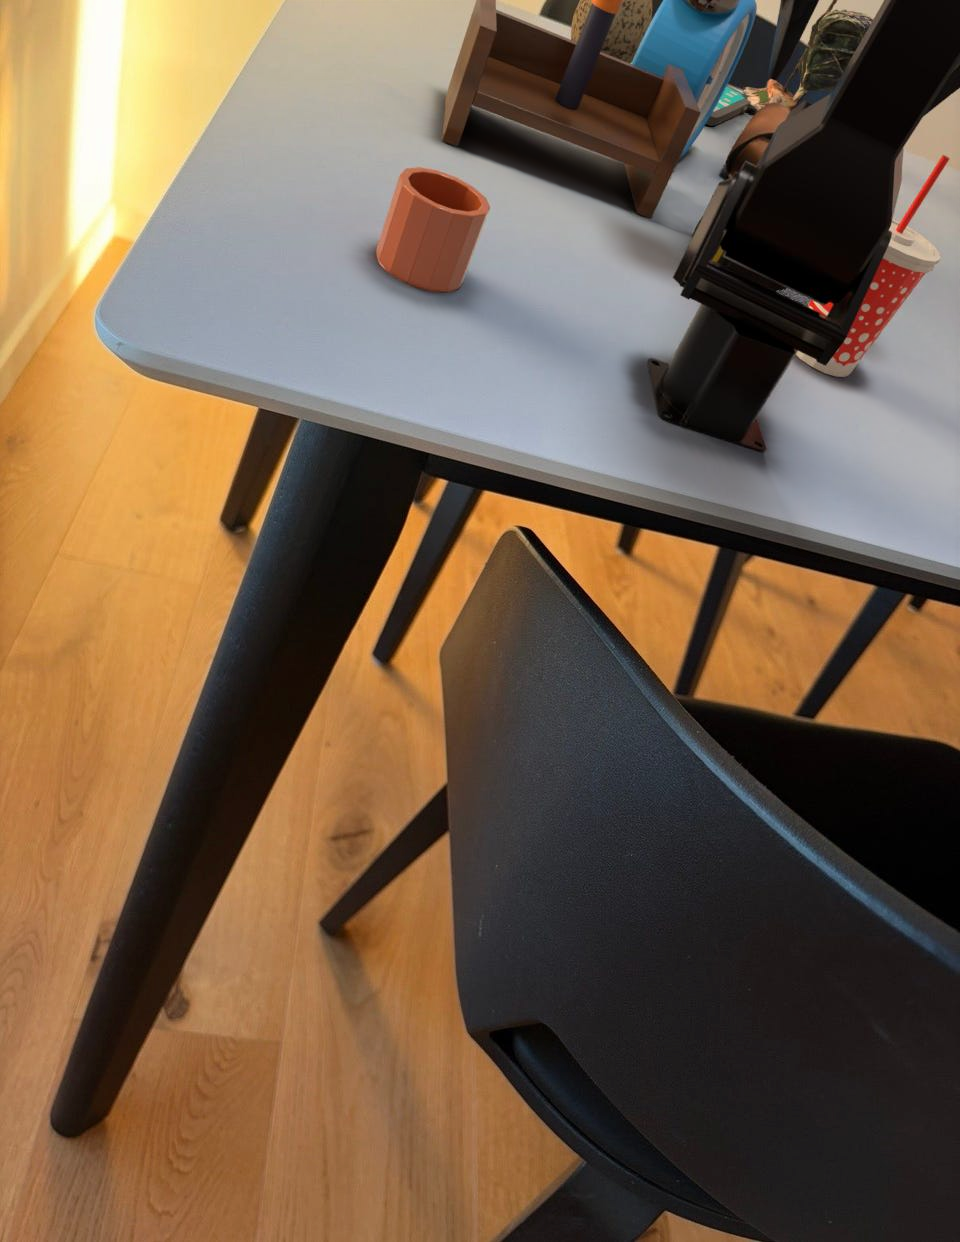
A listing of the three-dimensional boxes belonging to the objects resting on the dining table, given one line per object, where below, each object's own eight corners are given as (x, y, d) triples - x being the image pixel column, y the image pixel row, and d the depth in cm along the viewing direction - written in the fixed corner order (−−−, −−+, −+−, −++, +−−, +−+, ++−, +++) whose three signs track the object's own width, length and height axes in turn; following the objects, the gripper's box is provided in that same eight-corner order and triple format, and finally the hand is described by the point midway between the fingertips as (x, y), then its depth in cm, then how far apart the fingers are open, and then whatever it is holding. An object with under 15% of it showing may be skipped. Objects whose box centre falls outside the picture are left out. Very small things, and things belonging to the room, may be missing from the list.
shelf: (651, 218, 82) (701, 112, 77) (441, 141, 79) (480, 24, 74) (637, 168, 90) (682, 69, 85) (445, 95, 86) (480, -14, 81)
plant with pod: (824, 153, 115) (947, -51, 103) (730, 100, 116) (841, -109, 103) (831, 138, 122) (947, -56, 109) (741, 88, 122) (847, -112, 109)
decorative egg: (549, 47, 107) (590, -66, 101) (613, 67, 110) (657, -40, 104) (569, 75, 102) (614, -41, 96) (636, 96, 105) (683, -15, 99)
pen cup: (459, 309, 61) (490, 226, 58) (369, 279, 60) (396, 192, 57) (460, 269, 65) (490, 189, 61) (376, 240, 63) (402, 157, 60)
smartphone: (641, 76, 107) (688, 61, 118) (636, 86, 108) (683, 70, 119) (717, 118, 106) (757, 99, 117) (712, 128, 106) (752, 109, 118)
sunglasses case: (809, 214, 96) (809, 131, 92) (726, 221, 98) (723, 141, 94) (823, 165, 110) (823, 91, 106) (750, 172, 112) (748, 101, 108)
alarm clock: (659, 177, 90) (751, -18, 81) (593, 142, 91) (676, -56, 81) (697, 148, 100) (783, -29, 91) (638, 116, 101) (716, -63, 91)
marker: (579, 113, 81) (636, -27, 75) (554, 103, 81) (608, -38, 75) (578, 104, 83) (633, -34, 76) (553, 94, 82) (606, -45, 76)
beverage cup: (774, 320, 76) (891, 121, 67) (852, 352, 77) (978, 159, 68) (784, 362, 72) (911, 153, 63) (867, 395, 73) (1004, 194, 64)
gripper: (1073, -135, 68) (923, 114, 78) (809, -266, 64) (686, 14, 74) (1153, -100, 60) (974, 173, 70) (857, -248, 56) (711, 65, 66)
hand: (835, 104), depth 70 cm, fingers open, 9 cm apart
